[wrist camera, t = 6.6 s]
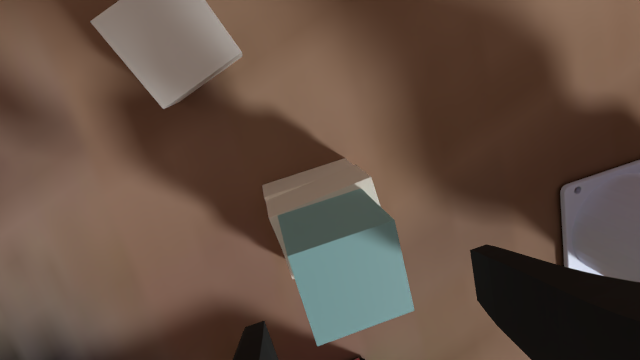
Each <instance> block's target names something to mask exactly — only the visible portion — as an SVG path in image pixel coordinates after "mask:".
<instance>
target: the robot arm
mask: <svg viewBox="0 0 640 360" xmlns="http://www.w3.org/2000/svg"><path fill="white" fill-rule="evenodd" d="M575 188H576V190H575ZM560 197H561V216H562V234H563V252H564V266H560V265H556V264H553V263H549V262H546V261H542V260H539V259H536V258H532V257H529V256H526V255H522V254H519V253H516V252H512V251H509V250H506V249H502V248H499V247H495V246H491V245H484V246H481V247H478V248H475V249H472V250H470V252H471V259H472V266H473V273H474V280H475V287H476V294H477V300H478V302H479V303H480V304H481V306H482V307H483V308H484V310H485V311H486V312H487V314H488V315H489V316H490V317H491V318H492V320H493V321H494V322H495V323H496V325H497V326H498V327H499V328H500V329H501V330H502V331H503V332H504V333H505V334H506V335H507V336H508V337H509V338H510V339H511V340H512V341H513V342H514V343H515V344H516V345H517V346H518V347H519V348H520V349H521V350H522V351H523V352H524V353H525V354H526V355H527V356H528V357H529V358H530V359H531V360H640V160H637V161H634V162H631V163H628V164H625V165H622V166H619V167H616V168H613V169H610V170H607V171H604V172H601V173H598V174H595V175H592V176H589V177H586V178H583V179H580V180H577V181H574V182H571V183H568V184H566V185H564V186H563V187H562V189H561V192H560ZM233 360H278V357H277V355H276V352H275V349H274V346H273V344H272V341H271V338H270V335H269V332H268V330H267V327H266V324H265V321H262V322H259V323H256V324H253V325H251V326H248V327H246V328H245V329H244V331H243V334H242V336H241V339H240V342H239V345H238V347H237V350H236V353H235V355H234V358H233Z"/></svg>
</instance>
